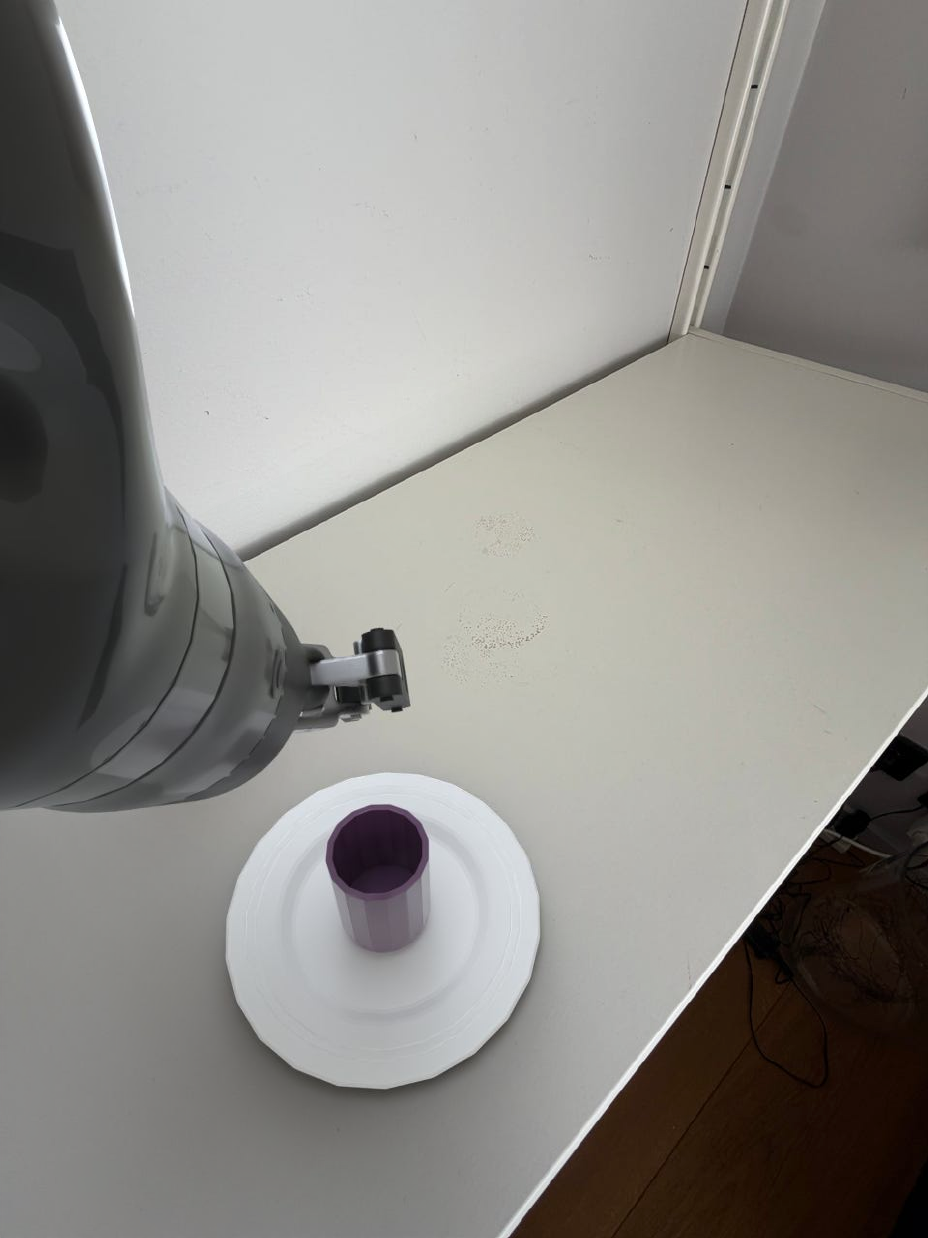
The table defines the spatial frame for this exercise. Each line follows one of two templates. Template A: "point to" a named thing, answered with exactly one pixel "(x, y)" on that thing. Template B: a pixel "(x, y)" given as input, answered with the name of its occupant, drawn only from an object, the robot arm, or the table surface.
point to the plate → (393, 981)
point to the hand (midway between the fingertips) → (262, 713)
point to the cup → (380, 876)
